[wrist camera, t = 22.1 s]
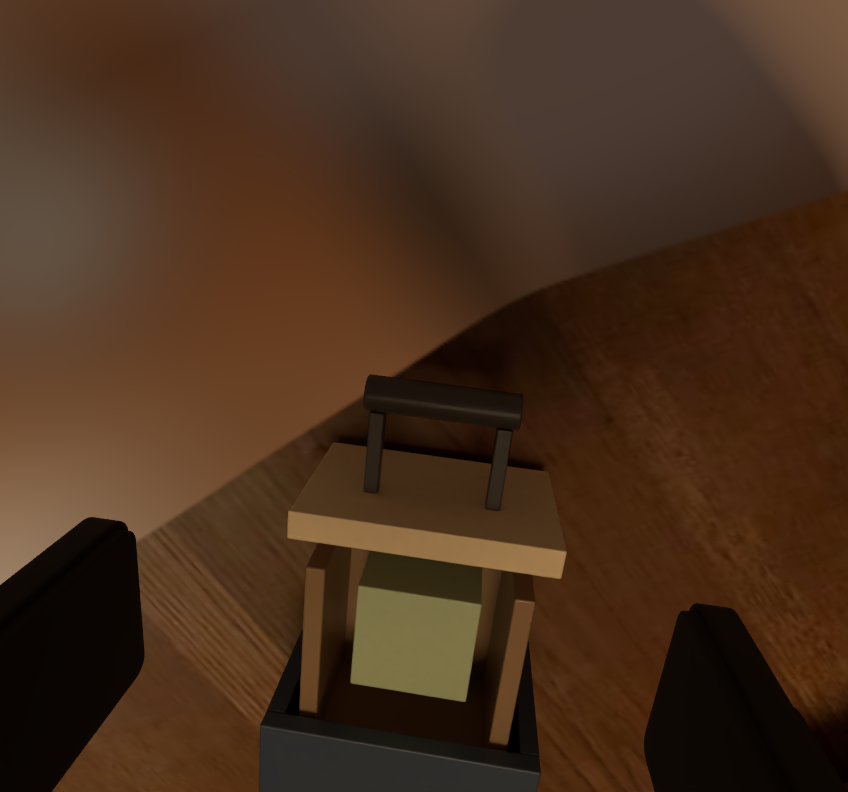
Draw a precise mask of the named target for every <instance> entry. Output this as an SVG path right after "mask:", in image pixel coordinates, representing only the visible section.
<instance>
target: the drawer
mask: <svg viewBox="0 0 848 792" xmlns="http://www.w3.org/2000/svg"><path fill="white" fill-rule="evenodd" d="M523 401H524V398H523V395H522V394H516V393H509V392H501V391H493V390H486V389H478V388H470V387H463V386H455V385H447V384H440V383H432V382H424V381H417V380H409V379H401V378H394V377H386V376H378V375H369V376H368V378H367V381H366V385H365V391H364V409H365V410H369V411H370V413H369V425H368V438H367V447H365V446H358V445H351V444H343V443H336V442H333V443H332V445H331V446H330V448H329V450H328V451H327V453H326V454H325V456H324V457H323V459H322V460H321V462H320V463H319V465H318V466H317V468H316V470H315V471H314V473H313V474H312V476H311V477H310V479H309V480H308V482H307V483H306V485H305V486H304V488H303V489H302V491H301V493H300V494H299V496H298V497H297V499H296V500H295V502H294V503H293V505H292V506H291V508H290V509H289V511H288V535H287V537H288V538H290V539H297V540H304V541H310V542H317V543H318V544H317V546H316V548H315V550H314V552H313V554H312V556H311V558H310V560H309V562H308V564H307V566H306V573H305V594H304V616H303V637H302V659H301V680H300V702H299V716H301V717H307V718H312V719H318V720H324V721H330V722H336V723H342V724H348V725H354V726H360V727H365V728H371V729H377V730H383V731H389V732H395V733H401V734H407V735H412V736H418V737H424V738H430V739H436V740H442V741H448V742H454V743H460V744H465V745H471V746H477V747H483V748H489V749H495V750H501V751H506V750H507V745H508V740H509V735H510V730H511V725H512V719H513V714H514V709H515V704H516V699H517V694H518V689H519V684H520V679H521V674H522V669H523V664H524V659H525V654H526V649H527V644H528V638H529V633H530V628H531V623H532V618H533V613H534V608H535V595H534V586H533V578H532V575H537V576H544V577H550V578H557V579H561V577H562V572H563V567H564V562H565V558H566V553H567V552H566V547H565V543H564V539H563V534H562V530H561V526H560V521H559V517H558V512H557V508H556V504H555V499H554V495H553V490H552V486H551V482H550V477H549V473H548V472H546V471H538V470H531V469H524V468H517V467H510V466H507V465H508V458H509V452H510V446H511V440H512V434H513V430H518V429H519V428H520V424H521V419H522V413H523ZM386 413H391V414H399V415H406V416H414V417H421V418H429V419H436V420H444V421H451V422H458V423H466V424H473V425H481V426H488V427H496V428H497V429H496V436H495V442H494V449H493V455H492V462H491V464H488V463H481V462H473V461H466V460H459V459H452V458H445V457H437V456H430V455H423V454H416V453H408V452H401V451H394V450H387V449H383V445H384V434H385V422H386ZM370 551H377V552H384V553H390V554H397V555H404V556H410V557H417V558H424V559H430V560H437V561H444V562H450V563H457V564H464V565H470V566H477V567H482V607H481V613H480V619H479V625H478V631H477V637H476V643H475V650H474V656H473V662H472V668H471V674H470V680H469V686H468V692H467V699H466V702H461V701H455V700H449V699H443V698H437V697H431V696H425V695H419V694H413V693H407V692H401V691H395V690H389V689H383V688H377V687H371V686H365V685H359V684H353V683H351V682H350V678H351V666H352V654H353V641H354V629H355V617H356V605H357V592H358V585H359V582H360V579H361V576H362V573H363V570H364V567H365V564H366V561H367V558H368V555H369V552H370Z"/></svg>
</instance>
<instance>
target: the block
mask: <svg viewBox="0 0 848 792" xmlns="http://www.w3.org/2000/svg"><path fill="white" fill-rule="evenodd" d="M481 607H482V567H477V566H470V565H464V564H457V563H450V562H444V561H437V560H430V559H424V558H417V557H410V556H404V555H397V554H390V553H384V552H377V551H370V552H369V555H368V558H367V561H366V564H365V567H364V570H363V573H362V576H361V579H360V582H359V585H358V592H357V605H356V617H355V629H354V641H353V654H352V666H351V678H350V682H351V683H353V684H359V685H365V686H371V687H377V688H383V689H389V690H395V691H401V692H407V693H413V694H419V695H425V696H431V697H437V698H443V699H449V700H455V701H461V702H466V699H467V692H468V686H469V680H470V674H471V668H472V662H473V656H474V650H475V643H476V637H477V631H478V625H479V619H480V613H481Z"/></svg>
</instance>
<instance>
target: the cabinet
mask: <svg viewBox="0 0 848 792" xmlns="http://www.w3.org/2000/svg"><path fill="white" fill-rule="evenodd" d="M302 637H303V629H302V631H301V633H300V636H299V638H298V640H297V642H296V645H295V647H294V649H293V652H292V654H291V656H290V659H289V661H288V663H287V665H286V668H285V670H284V672H283V675H282V677H281V679H280V681H279V684H278V686H277V688H276V691H275V693H274V695H273V697H272V700H271V702H270V704H269V707H268V709H267V712H266V714H265V716H264V718H263V721H262V723H261V725H260V776H259V792H537V788H538V783H539V779H540V775H541V771H540V760H539V748H538V737H537V727H536V716H535V705H534V695H533V684H532V673H531V663H530V652H529V641H528V644H527V649H526V654H525V659H524V664H523V669H522V674H521V679H520V684H519V689H518V694H517V699H516V704H515V709H514V714H513V719H512V725H511V730H510V735H509V740H508V745H507V750H506V751H501V750H495V749H489V748H483V747H477V746H471V745H465V744H460V743H454V742H448V741H442V740H436V739H430V738H424V737H418V736H412V735H407V734H401V733H395V732H389V731H383V730H377V729H371V728H365V727H360V726H354V725H348V724H342V723H336V722H330V721H324V720H318V719H312V718H307V717H301V716H299V702H300V680H301V659H302Z"/></svg>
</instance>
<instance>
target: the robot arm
mask: <svg viewBox="0 0 848 792" xmlns="http://www.w3.org/2000/svg"><path fill="white" fill-rule="evenodd" d="M143 661H144V640H143V627H142V614H141V601H140V588H139V575H138V562H137V549H136V538H135V535H134V533H133V532H131V531H128V528H127V526H126V524H125V523H124V522H122V521H115V520H109V519H101V518H94V517H90V518H87V519H85V520H83V521H82V522H81V523H79V524H78V525H77V526H75V527H74V528H73V529H71V530H70V531H69V532H68V533H66V534H65V535H64V536H63V537H61V538H60V539H59V540H57V541H56V542H55V543H54V544H52V545H51V546H50V547H48V548H47V549H46V550H45V551H43V552H42V553H41V554H40V555H38V556H37V557H36V558H34V559H33V560H32V561H31V562H29V563H28V564H27V565H25V566H24V567H23V568H22V569H20V570H19V571H18V572H17V573H15V574H14V575H13V576H11V577H10V578H9V579H8V580H6V581H5V582H4V583H2V584H1V585H0V792H52V790H53V789H54V788H55V786H56V785H57V784H58V782H59V781H60V780H61V778H62V777H63V776H64V774H65V773H66V772H67V770H68V769H69V768H70V766H71V765H72V764H73V762H74V761H75V760H76V758H77V757H78V756H79V754H80V753H81V751H82V750H83V749H84V747H85V746H86V745H87V743H88V742H89V741H90V739H91V738H92V737H93V735H94V734H95V733H96V731H97V730H98V729H99V727H100V726H101V725H102V723H103V722H104V721H105V719H106V718H107V717H108V715H109V714H110V713H111V711H112V710H113V708H114V707H115V706H116V704H117V703H118V702H119V700H120V699H121V698H122V696H123V695H124V694H125V692H126V691H127V690H128V688H129V687H130V686H131V684H132V683H133V682H134V680H135V679H136V677H137V676H138V674H139V672H140V670H141V668H142V665H143ZM644 751H645V758H646V762H647V766H648V769H649V773H650V776H651V780H652V784H653V787H654V791H655V792H848V790H847V788H846V787H845V785H844V783H843V782H842V780H841V779H840V777H839V775H838V774H837V772H836V770H835V769H834V767H833V765H832V764H831V762H830V760H829V759H828V757H827V756H826V754H825V752H824V751H823V749H822V747H821V746H820V744H819V742H818V741H817V739H816V737H815V736H814V734H813V733H812V731H811V729H810V728H809V726H808V724H807V723H806V721H805V719H804V718H803V717H802V715H801V714H800V713H799V711H798V710H797V709H796V708H794V707H793V706H792V704H791V702H790V701H789V699H788V697H787V696H786V694H785V692H784V691H783V689H782V687H781V686H780V684H779V682H778V681H777V679H776V677H775V676H774V674H773V672H772V671H771V669H770V667H769V666H768V664H767V662H766V661H765V659H764V657H763V656H762V654H761V652H760V651H759V649H758V648H757V646H756V644H755V643H754V641H753V639H752V638H751V636H750V634H749V633H748V631H747V629H746V628H745V626H744V624H743V623H742V621H741V619H740V618H739V616H738V614H737V613H736V612H735V611H734V610H733V609H731V608H726V607H719V606H712V605H705V604H698V603H696V604H693V605H692V607H691V608H690V610H689V611H681V612H680V613H679V615H678V618H677V622H676V625H675V629H674V632H673V636H672V639H671V643H670V646H669V650H668V654H667V657H666V661H665V664H664V668H663V671H662V675H661V678H660V682H659V686H658V689H657V693H656V696H655V700H654V703H653V707H652V711H651V714H650V718H649V721H648V725H647V728H646V732H645V738H644Z"/></svg>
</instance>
